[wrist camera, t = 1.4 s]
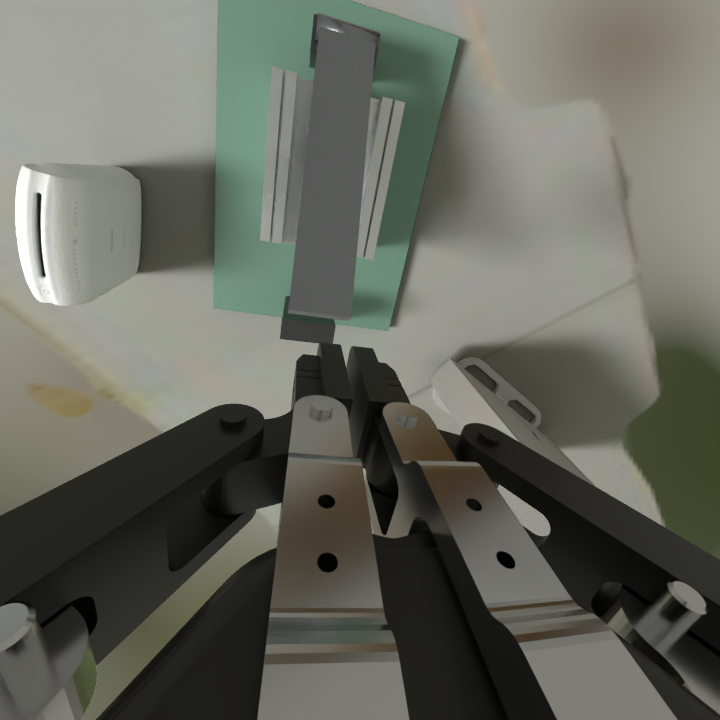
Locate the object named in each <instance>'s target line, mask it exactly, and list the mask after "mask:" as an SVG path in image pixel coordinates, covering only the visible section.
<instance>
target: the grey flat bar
mask: <svg viewBox="0 0 720 720" xmlns="http://www.w3.org/2000/svg"><path fill="white" fill-rule="evenodd" d="M379 37H380V32H378V31H375V30H372V29H369V28H366V27H362V26H359V25H356V24H353V23H350V22H347V21H343V20H340V19H337V18H334V17H331V16H328V15H324V14H321V13H318V18H317V28H316V38H315V39H316V40H318V46H317V55H316V64H315V73H314V82H313V91H312V100H311V110H310V119H309V128H308V137H307V146H306V155H305V164H304V173H303V182H302V191H301V200H300V209H299V219H298V228H297V237H296V246H295V255H294V264H293V273H292V282H291V291H290V300H289V309H288V313H291V314H299V315H306V316H314V317H321V318H329V319H337V320H344V321H349V320H350V319H351V314H352V303H353V291H354V280H355V269H356V258H357V247H358V235H359V224H360V213H361V202H362V191H363V180H364V168H365V157H366V146H367V135H368V124H369V112H370V101H371V90H372V79H373V68H374V57H375V56H376V53H377V48H378V43H379Z"/></svg>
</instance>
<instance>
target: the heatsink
mask: <svg viewBox="0 0 720 720" xmlns="http://www.w3.org/2000/svg"><path fill="white" fill-rule="evenodd" d="M317 18H318V15H317V14H314V18H313V27H312V37H311V47H310V64H309V67H311V68H314V69H315V64H316V55H317V46H318V40H316V39H315V38H316V28H317ZM380 36H381V34H380ZM379 42H380V37H379ZM378 48H379V43H378ZM378 48H377V53H376V56H375V57H374V68H373V70H374V69H375V66H376V60H377V54H378ZM312 91H313V81H310V80H306V79H302V78H299V77H298V75H297V73H296V72H292V71H289V70H286V74H284V70H283V69H282V68H278V67H274V66H272V69H271V84H270V99H269V114H268V129H267V144H266V159H265V174H264V189H263V203H262V218H261V233H260V241H266V242H270V241H271V240H272V243H278V244H282V242H285V243H291V244H296V237H297V228H298V219H299V209H300V200H301V191H302V182H303V173H304V164H305V155H306V146H307V137H308V128H309V119H310V110H311V100H312ZM392 101H393V99H390V98H387V97H382V98H381V99H380V100H379V99H375V98H372V97H371V101H370V112H369V124H368V135H367V146H366V157H365V168H364V180H363V191H362V202H361V213H360V224H359V235H358V247H357V257H359V258H363V257H364V258H365V259H370V260H373V259H374V254H375V249H376V244H377V239H378V234H379V229H380V224H381V219H382V214H383V209H384V204H385V200H386V195H387V190H388V185H389V180H390V175H391V170H392V165H393V160H394V155H395V150H396V145H397V140H398V135H399V130H400V126H401V121H402V116H403V111H404V106H405V102H401V101H397V100H395V101H393V102H392ZM289 300H290V297H287V296H286V297H285V304H284V310H283V317H282V325H281V335H280V339H286V340H295V341H303V342H312V343H320V342H322V343H330V344H332V343H333V338H334V332H335V321H334V319H329V318H321V317H314V316H306V315H299V314H291V313H288V309H289Z"/></svg>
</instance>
